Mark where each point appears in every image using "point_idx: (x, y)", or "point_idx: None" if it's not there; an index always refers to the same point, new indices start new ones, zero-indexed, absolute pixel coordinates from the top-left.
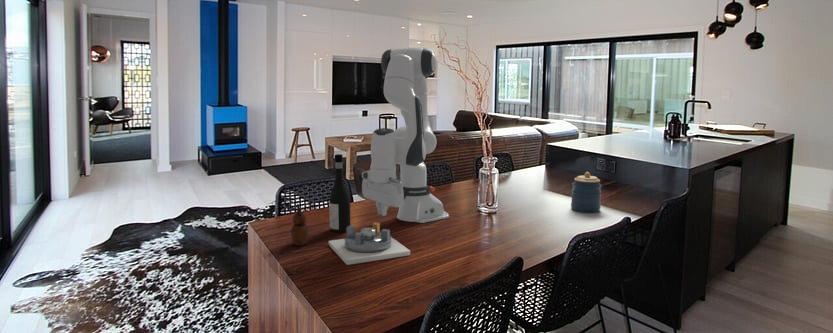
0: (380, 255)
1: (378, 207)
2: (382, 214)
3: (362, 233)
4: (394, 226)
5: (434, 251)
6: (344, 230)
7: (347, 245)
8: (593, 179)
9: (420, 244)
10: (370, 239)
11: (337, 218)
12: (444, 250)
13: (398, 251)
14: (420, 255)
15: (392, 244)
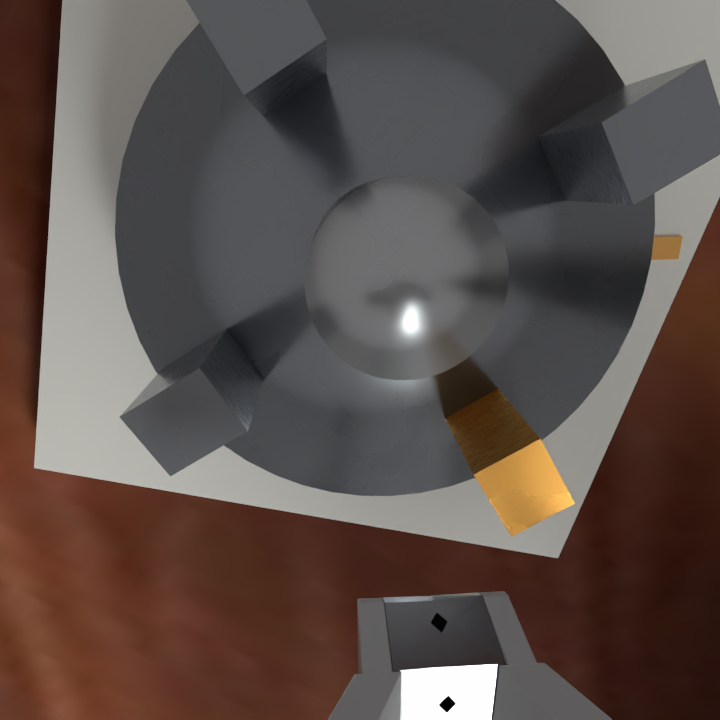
0: (53, 183)
1: (539, 711)
2: (359, 610)
3: (224, 54)
4: (691, 696)
5: (43, 618)
6: None
7: None
8: None
9: (237, 627)
10: (309, 246)
11: None
12: (27, 674)
13: (68, 381)
14: (10, 502)
15: None
